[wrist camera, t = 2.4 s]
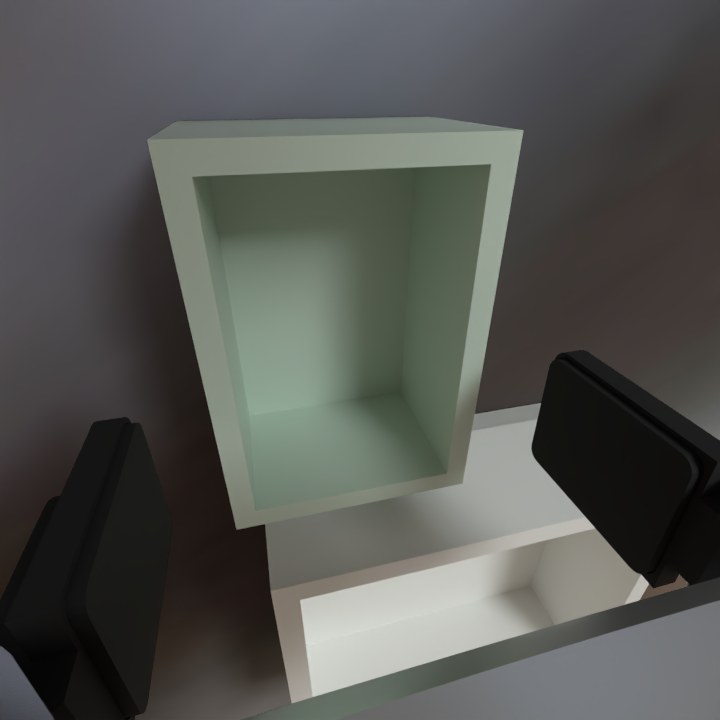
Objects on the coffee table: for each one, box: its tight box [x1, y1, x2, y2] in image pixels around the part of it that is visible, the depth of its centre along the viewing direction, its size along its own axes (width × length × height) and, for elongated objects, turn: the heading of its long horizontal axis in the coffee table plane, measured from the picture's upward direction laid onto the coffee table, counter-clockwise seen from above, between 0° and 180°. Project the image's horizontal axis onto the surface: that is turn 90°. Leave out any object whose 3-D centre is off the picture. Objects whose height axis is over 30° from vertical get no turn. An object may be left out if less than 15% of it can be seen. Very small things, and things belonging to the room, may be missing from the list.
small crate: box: [147, 117, 523, 530], centre depth 13 cm, size 10×7×5 cm
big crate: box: [265, 403, 649, 703], centre depth 21 cm, size 15×16×6 cm
